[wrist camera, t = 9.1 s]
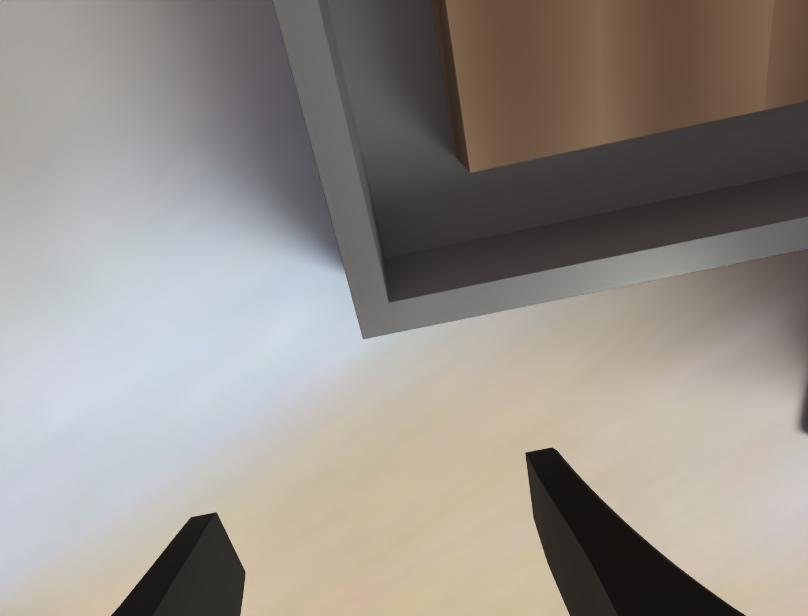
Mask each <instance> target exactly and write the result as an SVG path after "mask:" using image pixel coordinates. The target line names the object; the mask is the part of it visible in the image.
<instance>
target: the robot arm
mask: <svg viewBox="0 0 808 616" xmlns="http://www.w3.org/2000/svg"><path fill="white" fill-rule="evenodd" d="M525 454H526V461H527V469H528V477H529V485H530V493H531V501H532V508H533V516H534V521H535V524H536V527H537V530H538V534H539V537H540V540H541V543H542V547H543V550H544V553H545V556H546V559H547V562H548V565H549V567H550V570H551V572H552V574H553V577H554V579H555V581H556V584H557V586H558V589H559V591H560V593H561V596H562V598H563V600H564V603H565V605H566V607H567V610H568V612H569V614H570V616H745V615H744V614H742V613H741V612H739V611H738V610H736V609H735V608H733V607H732V606H730V605H729V604H727V603H726V602H725V601H723V600H722V599H720V598H719V597H718V596H716V595H715V594H713V593H712V592H711V591H709V590H708V589H707V588H705V587H704V586H702V585H701V584H700V583H698V582H697V581H696V580H694V579H693V578H692V577H690V576H689V575H688V574H687V573H685V572H684V571H683V570H681V569H680V568H679V567H677V566H676V565H675V564H674V563H672V562H671V561H670V560H669V559H667V558H666V557H665V556H664V555H663V554H661V553H660V552H659V551H658V550H657V549H655V548H654V547H653V546H652V545H651V544H650V543H648V542H647V541H646V540H645V539H644V538H643V537H641V536H640V535H639V534H638V533H637V532H636V531H635V530H634V529H632V528H631V527H630V526H629V525H628V524H627V523H626V522H625V521H624V520H623V519H622V518H620V517H619V516H618V515H617V514H616V513H615V512H614V511H613V510H612V509H611V508H610V507H609V506H608V505H607V504H606V503H605V502H604V501H603V500H602V499H601V498H600V497H599V496H598V495H597V494H596V493H595V492H594V491H593V490H592V489H591V488H590V487H589V486H588V485H587V484H586V483H585V482H584V481H583V480H582V479H581V478H580V476H579V475H578V474H577V473H576V472H575V471H574V470H573V469H572V468H571V466H570V465H569V464H568V463H567V462H566V461H565V459H564V458H563V457H562V456H561V455H560V453H559V452H558V451H557V450H555V449H554V448H547V449H542V450H537V451H532V452H527V453H525ZM245 573H246V572H245V570H244V568H243V566H242V564H241V562H240V560H239V558H238V556H237V554H236V552H235V550H234V547H233V545H232V543H231V541H230V539H229V537H228V535H227V533H226V531H225V529H224V527H223V525H222V523H221V521H220V518H219V516H218V514H217V512H216V513H211V514H206V515H200V516H195V517H191V518H190V519H189V520H188V522H187V523H186V524H185V525H184V526H183V528H182V529H181V530H180V531H179V533H178V534H177V535H176V536H175V538H174V539H173V540H172V541H171V543H170V544H169V545H168V546H167V548H166V549H165V550H164V551H163V553H162V554H161V555H160V556H159V558H158V559H157V560H156V562H155V563H154V564H153V565H152V567H151V568H150V569H149V570H148V572H147V573H146V574H145V575H144V577H143V578H142V579H141V580H140V581H139V583H138V584H137V585H136V586H135V588H134V589H133V590H132V591H131V593H130V594H129V595H128V596H127V598H126V599H125V600H124V601H123V602H122V604H121V605H120V606H119V607H118V608H117V610H116V611H115V612H114V613H113V614H112V615H111V616H240V613H241V606H242V599H243V591H244V582H245Z"/></svg>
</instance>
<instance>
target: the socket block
mask: <svg viewBox="0 0 808 616" xmlns="http://www.w3.org/2000/svg"><path fill="white" fill-rule="evenodd" d="M431 4H432V10H433V17H434V23H435V30H436V36H437V43H438V49H439V56H440V62H441V69H442V75H443V82H444V88H445V95H446V101H447V108H448V114H449V121H450V127H451V134H452V140H453V147H454V153H455V157H456V158H457V159H458V160H459V161H460V162H461V163H462V165H463V166H464V167H465V168H466V169H467V170H468V171H469V172H470V173H472V172H476V171H481V170H486V169H491V168H495V167H500V166H505V165H509V164H514V163H519V162H523V161H528V160H533V159H537V158H542V157H547V156H552V155H556V154H561V153H566V152H570V151H575V150H580V149H584V148H589V147H594V146H598V145H603V144H608V143H613V142H617V141H622V140H627V139H631V138H636V137H641V136H645V135H650V134H655V133H659V132H664V131H669V130H674V129H678V128H683V127H688V126H692V125H697V124H702V123H706V122H711V121H716V120H720V119H725V118H730V117H735V116H739V115H744V114H749V113H753V112H758V111H763V110H767V109H772V108H777V107H781V106H786V105H791V104H796V103H800V102H805V101H808V0H431Z"/></svg>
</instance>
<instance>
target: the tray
mask: <svg viewBox="0 0 808 616" xmlns="http://www.w3.org/2000/svg"><path fill="white" fill-rule="evenodd" d="M273 3H274V7H275V11H276V15H277V18H278V22H279V26H280V30H281V33H282V37H283V41H284V45H285V48H286V52H287V56H288V60H289V63H290V67H291V71H292V75H293V78H294V82H295V86H296V90H297V93H298V97H299V101H300V105H301V108H302V112H303V116H304V120H305V123H306V127H307V131H308V135H309V138H310V142H311V146H312V150H313V153H314V157H315V161H316V165H317V168H318V172H319V176H320V180H321V183H322V187H323V191H324V195H325V198H326V202H327V206H328V210H329V213H330V217H331V221H332V225H333V228H334V232H335V236H336V240H337V243H338V247H339V251H340V255H341V258H342V262H343V266H344V270H345V273H346V277H347V281H348V285H349V288H350V292H351V296H352V300H353V303H354V307H355V311H356V315H357V318H358V322H359V326H360V330H361V333H362V337H363V339H367V338H372V337H377V336H381V335H386V334H391V333H396V332H401V331H406V330H411V329H416V328H421V327H426V326H431V325H436V324H440V323H445V322H450V321H455V320H460V319H465V318H470V317H475V316H480V315H485V314H490V313H495V312H500V311H504V310H509V309H514V308H519V307H524V306H529V305H534V304H539V303H544V302H549V301H554V300H559V299H564V298H568V297H573V296H578V295H583V294H588V293H593V292H598V291H603V290H608V289H613V288H618V287H623V286H628V285H632V284H637V283H642V282H647V281H652V280H657V279H662V278H667V277H672V276H677V275H682V274H687V273H692V272H696V271H701V270H706V269H711V268H716V267H721V266H726V265H731V264H736V263H741V262H746V261H751V260H755V259H760V258H765V257H770V256H775V255H780V254H785V253H790V252H795V251H800V250H805V249H808V101H805V102H800V103H796V104H791V105H786V106H781V107H777V108H772V109H767V110H763V111H758V112H753V113H749V114H744V115H739V116H735V117H730V118H725V119H720V120H716V121H711V122H706V123H702V124H697V125H692V126H688V127H683V128H678V129H674V130H669V131H664V132H659V133H655V134H650V135H645V136H641V137H636V138H631V139H627V140H622V141H617V142H613V143H608V144H603V145H598V146H594V147H589V148H584V149H580V150H575V151H570V152H566V153H561V154H556V155H552V156H547V157H542V158H537V159H533V160H528V161H523V162H519V163H514V164H509V165H505V166H500V167H495V168H491V169H486V170H481V171H476V172H472V173H470V172H469V171H468V170H467V169H466V168H465V167H464V166H463V165H462V163H461V162H460V161H459V160H458V159H457V158H456V157H455V153H454V147H453V140H452V134H451V127H450V121H449V114H448V108H447V101H446V95H445V88H444V82H443V75H442V69H441V62H440V56H439V49H438V43H437V36H436V30H435V23H434V17H433V10H432V4H431V0H273Z"/></svg>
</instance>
